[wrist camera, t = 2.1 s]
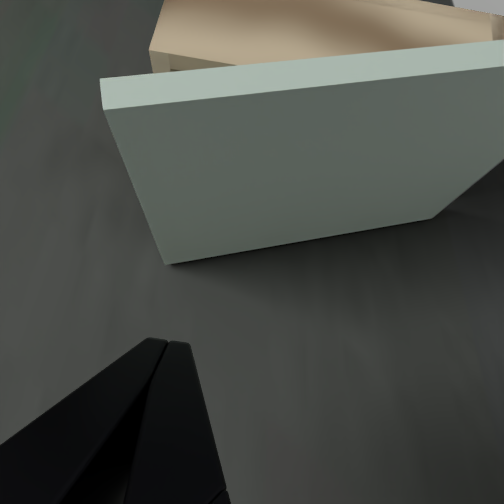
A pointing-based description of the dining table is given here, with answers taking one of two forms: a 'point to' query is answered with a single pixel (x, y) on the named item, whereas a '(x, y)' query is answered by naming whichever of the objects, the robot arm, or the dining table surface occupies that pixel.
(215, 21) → the crate
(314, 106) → the flap
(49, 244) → the dining table surface
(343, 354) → the dining table surface
